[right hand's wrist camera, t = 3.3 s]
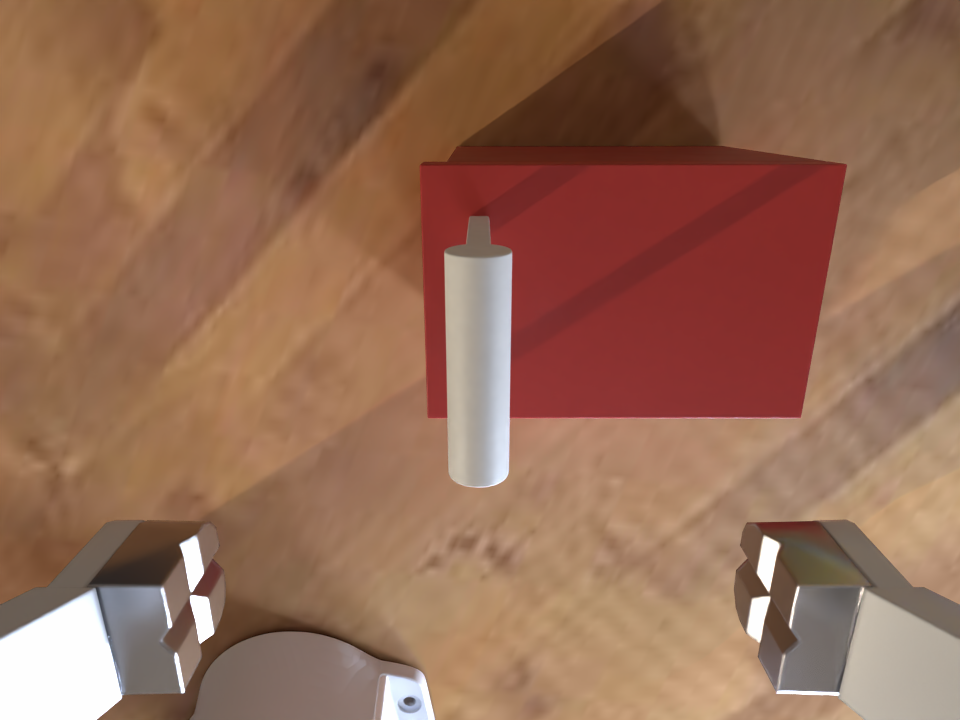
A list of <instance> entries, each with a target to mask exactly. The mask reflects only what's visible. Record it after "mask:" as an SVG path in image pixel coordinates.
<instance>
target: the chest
mask: <svg viewBox="0 0 960 720" xmlns="http://www.w3.org/2000/svg"><path fill="white" fill-rule="evenodd" d="M447 162H826V161H820V160H814V159H807V158H800V157H793V156H786V155H779V154H772V153H765V152H758V151H752V150H745V149H738V148H731V147H725V146H457V147H456V149H455V151H454V152H453V154H452V155H451V157H450V158H449V160H448V161H447Z"/></svg>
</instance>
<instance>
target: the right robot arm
mask: <svg viewBox="0 0 960 720" xmlns="http://www.w3.org/2000/svg"><path fill="white" fill-rule="evenodd" d="M219 546H220V544H219V539H218V534H217V529H216V527H215V526H214V525H213V524H212V523H211V522H208V521H160V520H147V521H144V520H114V521H111V522H107V523H106V524H105V525H104V526H103V527H102V528H101V529H100V530H99V531H98V532H97V533H96V534H95V535H94V537H93V538H92V539H91V540H90V541H89V542H88V543H87V544H86V545H85V546H84V547H83V549H82V550H81V551H80V552H79V553H78V554H77V555H76V556H75V557H74V558H73V559H72V560H71V562H70V563H69V564H68V565H67V566H66V567H65V568H64V569H63V570H62V571H61V572H60V573H59V575H58V576H57V577H56V578H55V579H54V580H53V581H52V582H51V583H50V584H49V585H48V586H47V587H36V588H34V589H32V590H30V591H27V592H25V593H23V594H21V595H19V596H17V597H15V598H13V599H11V600H9V601H7V602H5V603H3V604H1V605H0V720H96V719H97V718H99V717H100V716H101V715H102V714H103V713H105V712H106V711H107V710H108V709H109V708H111V707H112V706H113V705H114V704H115V703H117V702H118V701H119V700H120V699H122V695H135V694H169V693H184V691H185V689H186V687H187V685H188V683H189V681H190V679H191V677H192V675H193V673H194V671H195V670H196V668H197V666H198V664H199V662H200V660H201V658H202V652H201V646H200V643H201V642H203V641H204V640H205V639H207V638H208V637H210V636H211V635H213V634H214V632H215V630H216V628H217V626H218V624H219V622H220V620H221V617H222V613H223V608H224V604H225V599H226V582H225V575H224V570H223V569H222V568H221V567H220V566H219V565H218V564H217V563H216V562H215V561H214V560H213V559H212V558H213V556H214V555H215V553H216V551H217V550H218V548H219ZM740 546H741V548H742V550H743V551H744V553H745V555H746V556H747V558H748V559H747V560H746V561H745V562H744V563H743V564H742V565H741V566H740V567H739V568H738V569H737V570H736V576H735V584H734V594H735V605H736V610H737V613H738V616H739V620H740V622H741V624H742V626H743V628H744V630H745V632H746V634H747V635H749V636H750V637H752V638H753V639H755V640H756V641H757V642H759V643H760V647H759V652H758V658H759V660H760V662H761V664H762V666H763V668H764V669H765V671H766V673H767V675H768V677H769V679H770V681H771V683H772V685H773V687H774V689H775V691H776V693H789V694H825V695H838V698H839V699H840V700H841V701H842V702H844V703H845V704H846V705H847V706H848V707H850V708H851V709H852V710H853V711H855V712H856V713H857V714H858V715H859V716H861V717H862V718H863V719H864V720H960V605H959V604H957V603H955V602H953V601H951V600H949V599H947V598H945V597H943V596H941V595H939V594H937V593H935V592H933V591H930V590H928V589H926V588H924V587H913V586H912V585H911V584H910V583H909V582H908V581H907V580H906V579H905V578H904V577H903V576H902V575H901V573H900V572H899V571H898V570H897V569H896V568H895V567H894V566H893V565H892V564H891V563H890V561H889V560H888V559H887V558H886V557H885V556H884V555H883V554H882V553H881V552H880V551H879V550H878V548H877V547H876V546H875V545H874V544H873V543H872V542H871V541H870V540H869V539H868V538H867V537H866V535H865V534H864V533H863V532H862V531H861V530H860V529H859V528H858V527H857V526H856V525H855V524H854V523H852V522H850V521H848V520H820V521H801V522H749V523H747V524H746V526H745V528H744V530H743V532H742V538H741V544H740ZM410 697H412V698H410ZM189 720H435V718H434V714H433V709H432V705H431V701H430V696H429V692H428V687H427V683H426V679H425V676H424V675H423V673H422V672H421V671H419V670H418V669H416V668H414V667H411V666H408V665H403V664H399V663H394V662H388V661H382V660H379V659H377V658H374V657H372V656H370V655H368V654H367V653H365V652H363V651H361V650H359V649H358V648H356V647H354V646H352V645H350V644H348V643H345V642H343V641H340V640H338V639H335V638H332V637H328V636H324V635H320V634H315V633H308V632H295V631H288V632H274V633H268V634H263V635H259V636H255V637H252V638H249V639H246V640H244V641H242V642H240V643H238V644H236V645H234V646H232V647H230V648H229V649H227V650H226V651H225V652H223V653H222V654H221V655H220V656H219V657H218V658H217V659H216V660H215V661H214V662H213V663H212V664H211V665H210V667H209V668H208V670H207V671H206V673H205V675H204V677H203V679H202V682H201V685H200V690H199V695H198V700H197V704H196V708H195V712H194V715H193V716H192V717H191V718H190V719H189Z"/></svg>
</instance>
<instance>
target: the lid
mask: <svg viewBox="0 0 960 720" xmlns="http://www.w3.org/2000/svg"><path fill="white" fill-rule="evenodd" d="M846 167H847V165H846V164H842V163H835V162H423V163H422V164H421V165H420V191H421V223H422V255H423V287H424V319H425V351H426V383H427V415H428V418H448V467H449V475H450V477H451V478H452V479H453V480H454V481H455V482H457V483H459V484H461V485H464V486H469V487H488V486H493V485H496V484H498V483H500V482H502V481H503V480H505V479H506V477H507V476H508V473H509V425H510V418H801V414H802V408H803V403H804V397H805V392H806V386H807V381H808V375H809V370H810V364H811V359H812V353H813V348H814V342H815V337H816V332H817V326H818V321H819V315H820V310H821V304H822V299H823V293H824V288H825V282H826V277H827V271H828V266H829V260H830V255H831V249H832V244H833V238H834V233H835V227H836V222H837V216H838V211H839V205H840V200H841V195H842V189H843V184H844V178H845V173H846Z"/></svg>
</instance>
